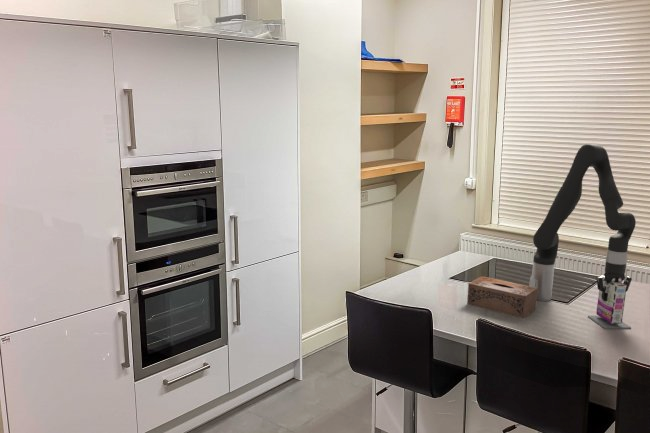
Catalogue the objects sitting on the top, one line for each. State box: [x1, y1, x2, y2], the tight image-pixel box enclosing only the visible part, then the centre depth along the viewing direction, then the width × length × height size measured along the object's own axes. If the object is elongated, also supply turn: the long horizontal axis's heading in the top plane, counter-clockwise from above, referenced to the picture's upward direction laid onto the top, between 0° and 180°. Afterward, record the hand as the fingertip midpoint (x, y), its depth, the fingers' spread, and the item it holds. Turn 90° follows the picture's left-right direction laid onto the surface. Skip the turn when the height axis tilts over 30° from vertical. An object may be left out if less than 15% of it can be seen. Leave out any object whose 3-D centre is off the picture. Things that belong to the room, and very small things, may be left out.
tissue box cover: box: [466, 276, 538, 319], centre depth 246 cm, size 26×14×10 cm, turn 51°
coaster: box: [587, 315, 632, 330], centre depth 229 cm, size 11×13×1 cm
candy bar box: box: [595, 279, 627, 324], centre depth 227 cm, size 11×5×16 cm, turn 5°
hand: (611, 300), depth 228 cm, fingers closed on candy bar box, 5 cm apart
